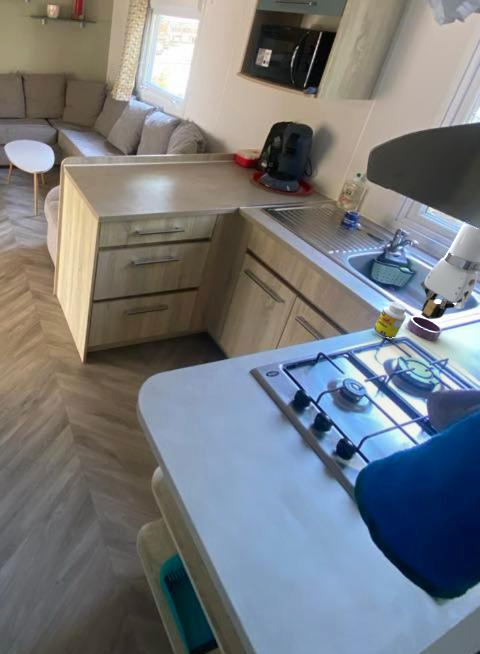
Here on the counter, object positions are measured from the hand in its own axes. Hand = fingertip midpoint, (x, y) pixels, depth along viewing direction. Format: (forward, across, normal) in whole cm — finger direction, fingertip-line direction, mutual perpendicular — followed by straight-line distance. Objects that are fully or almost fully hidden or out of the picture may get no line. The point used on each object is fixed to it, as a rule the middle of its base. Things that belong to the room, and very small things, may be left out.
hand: (430, 314), depth 126 cm
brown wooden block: (+1, 0, 0) cm, 1 cm away
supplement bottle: (+7, 0, +15) cm, 16 cm away
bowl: (+7, 0, 0) cm, 7 cm away
